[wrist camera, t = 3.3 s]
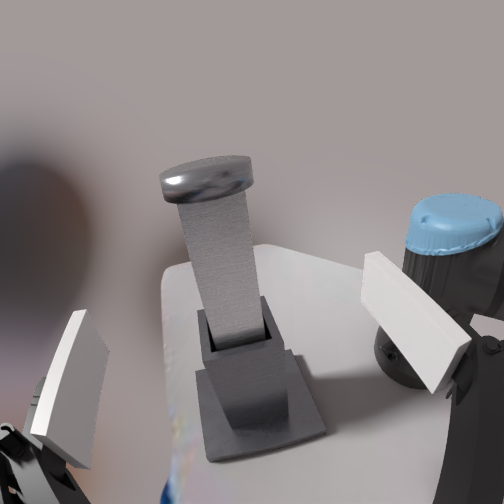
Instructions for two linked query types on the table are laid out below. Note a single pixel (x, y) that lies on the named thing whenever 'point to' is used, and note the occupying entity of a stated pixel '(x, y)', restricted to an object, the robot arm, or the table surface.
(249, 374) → the jack stand base
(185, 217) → the column
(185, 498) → the table surface
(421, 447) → the table surface
